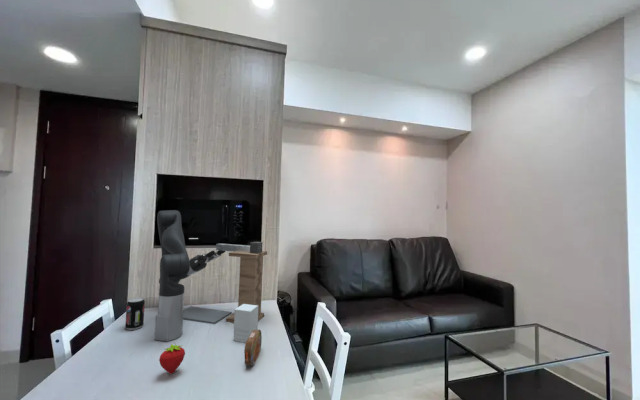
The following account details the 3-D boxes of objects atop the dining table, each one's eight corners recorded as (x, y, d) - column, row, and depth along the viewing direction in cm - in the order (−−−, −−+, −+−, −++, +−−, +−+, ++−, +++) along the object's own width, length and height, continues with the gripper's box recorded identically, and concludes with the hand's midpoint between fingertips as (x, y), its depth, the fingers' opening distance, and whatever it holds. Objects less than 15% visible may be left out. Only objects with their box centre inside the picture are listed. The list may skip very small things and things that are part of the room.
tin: (251, 370, 91) (252, 344, 91) (241, 370, 91) (243, 344, 91) (262, 348, 106) (262, 325, 106) (253, 347, 106) (254, 325, 106)
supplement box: (258, 335, 116) (259, 305, 117) (249, 343, 109) (250, 311, 110) (242, 333, 118) (243, 303, 119) (232, 340, 111) (234, 308, 112)
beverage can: (141, 329, 118) (143, 301, 118) (122, 331, 116) (124, 302, 116) (144, 323, 124) (146, 296, 125) (127, 325, 122) (129, 297, 122)
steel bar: (257, 253, 131) (257, 243, 131) (214, 250, 136) (215, 240, 137) (262, 252, 136) (262, 242, 136) (220, 249, 141) (221, 239, 142)
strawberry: (154, 375, 87) (156, 342, 87) (179, 365, 93) (180, 334, 93) (163, 382, 83) (164, 348, 84) (187, 371, 89) (189, 340, 89)
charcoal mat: (214, 324, 126) (214, 322, 126) (170, 317, 132) (170, 315, 132) (231, 313, 140) (231, 311, 140) (190, 307, 146) (191, 306, 146)
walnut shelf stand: (252, 325, 126) (255, 255, 127) (225, 321, 129) (228, 252, 131) (264, 316, 138) (267, 251, 139) (239, 312, 141) (241, 249, 142)
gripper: (181, 260, 135) (207, 245, 132) (200, 256, 149) (224, 242, 146) (187, 274, 134) (213, 260, 131) (206, 269, 148) (230, 255, 145)
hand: (219, 250), depth 139 cm, fingers open, 8 cm apart
